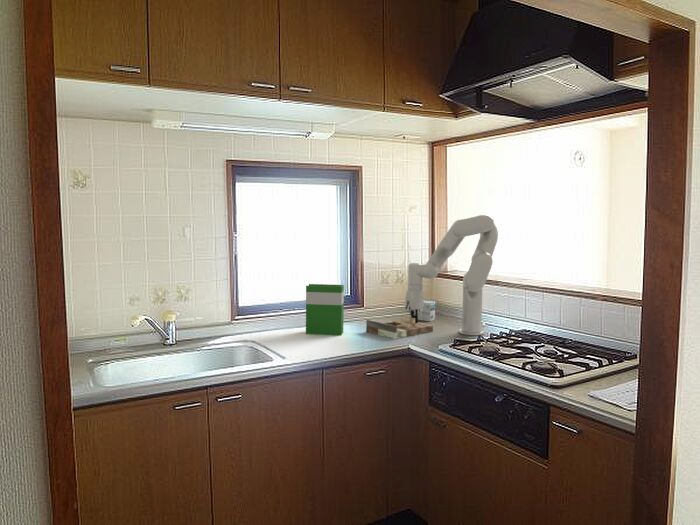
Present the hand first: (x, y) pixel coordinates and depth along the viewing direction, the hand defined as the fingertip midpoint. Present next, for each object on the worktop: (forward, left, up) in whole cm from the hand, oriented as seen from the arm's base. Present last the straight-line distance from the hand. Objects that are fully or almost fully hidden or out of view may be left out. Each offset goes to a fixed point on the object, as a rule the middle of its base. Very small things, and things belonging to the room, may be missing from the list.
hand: (414, 322), depth 267 cm
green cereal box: (+40, -24, -4) cm, 47 cm away
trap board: (+8, -3, -4) cm, 9 cm away
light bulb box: (-26, -16, -4) cm, 31 cm away
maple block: (+5, 0, -1) cm, 5 cm away
